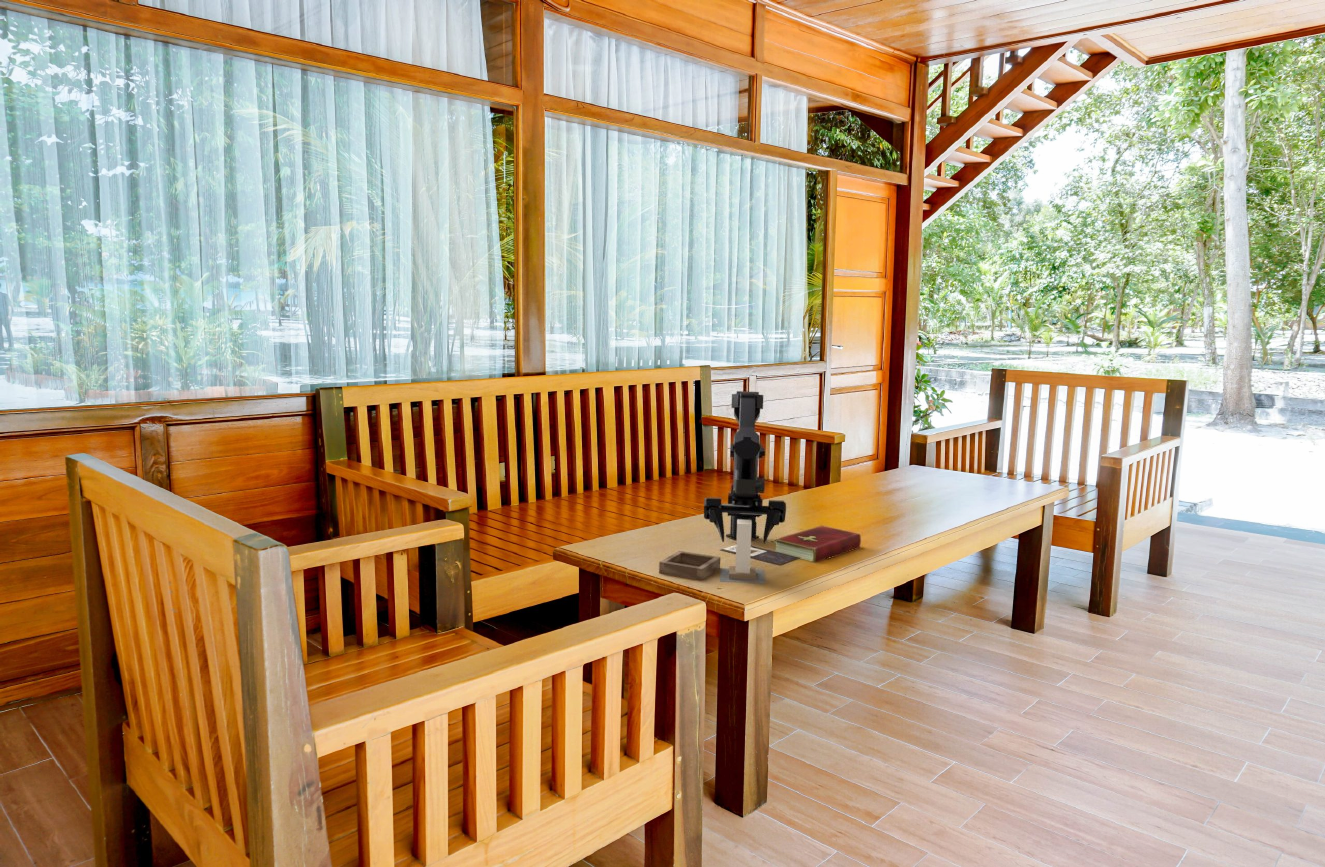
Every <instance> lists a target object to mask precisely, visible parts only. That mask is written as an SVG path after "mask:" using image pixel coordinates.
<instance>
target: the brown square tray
mask: <svg viewBox="0 0 1325 867" xmlns="http://www.w3.org/2000/svg"><path fill="white" fill-rule="evenodd" d="M720 569H721V557H720V556H714V555H707V554H701V553H695V552H688V551H681V550H677V551H676V552H675V553H673V554H670V556H667V557H666V558H664V559H662V560H660V561H659V564H658V573H659V574H663V575H668V576H675V577H681V578H688V579H692V580H699V581H702V580H704V579H706V578H707V577H709V576H711V575H712V574H713V573H714V572H716V571H718V570H720Z"/></svg>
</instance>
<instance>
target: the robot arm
mask: <svg viewBox="0 0 1325 867" xmlns="http://www.w3.org/2000/svg"><path fill="white" fill-rule="evenodd" d="M731 409H733V417H734V418H735V420H736V422H737V424H738V425H739V426H738V431H736V433H734V435H733V443H732V442H731V443H730V451H729V452H730V457H729V458H731V459H732V461H733V479H732V480H733V482H732V484H731V486H730V492H728V493H727V494H728V495H727V503H722V497H709V496H707V497H706V498H704V500H703V518H704V519H705V520H706V521H707V520H708V521H709V522H710V523H713V524H714V526H715V528H716V529H717V531H718V534H719V537H720V539H721V542H722V543H724V542H725V537H726V538H730V539H733V540H736V541H737V519H742V520H752V528H751V541H752V540H756V539H759V538H760V536H759V535H757V518H760V517H762V516H763V515H764V516H766V517H765V518H766V519H765V525H764V531H763V536H762V537H763V538H762V540H763V541H762V543H763V544H764V545H765V544H766V543H767V540H768V538H769V535H770V533H771V531H772V530H773V529H774V527H775V526H779V525H780V524H781V523H785V522H786V513H787V503H786V502H785V500H779V499H778V500H777V499H776V500H775V499H768V505H763V502H764V500H763V498H762V496H761V494H764V493H765V487H766V486H765V485H766V484H765V483H766V482H765V481H766V479H765V477H759V476H758V475H759V472H758V470H759V461H760V459H761V460H762V459H763V457H765V456H766V450H765V447H763V444H760V440H761V439H760V438H761V436H760V434H759V433H758V432H756V423H757V421H758V420H759V418H760V417H761V410H763V409H764V395H763V394H760V392H759V391H747V390H746V391H743V390H742V391H741V390H740V391H738V390H737V391H736V393H732V394H731ZM723 513H725V514H727V516H728V517H730V528H729V530H730V532H729V533H727V534H725V526H724V516H723Z"/></svg>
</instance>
